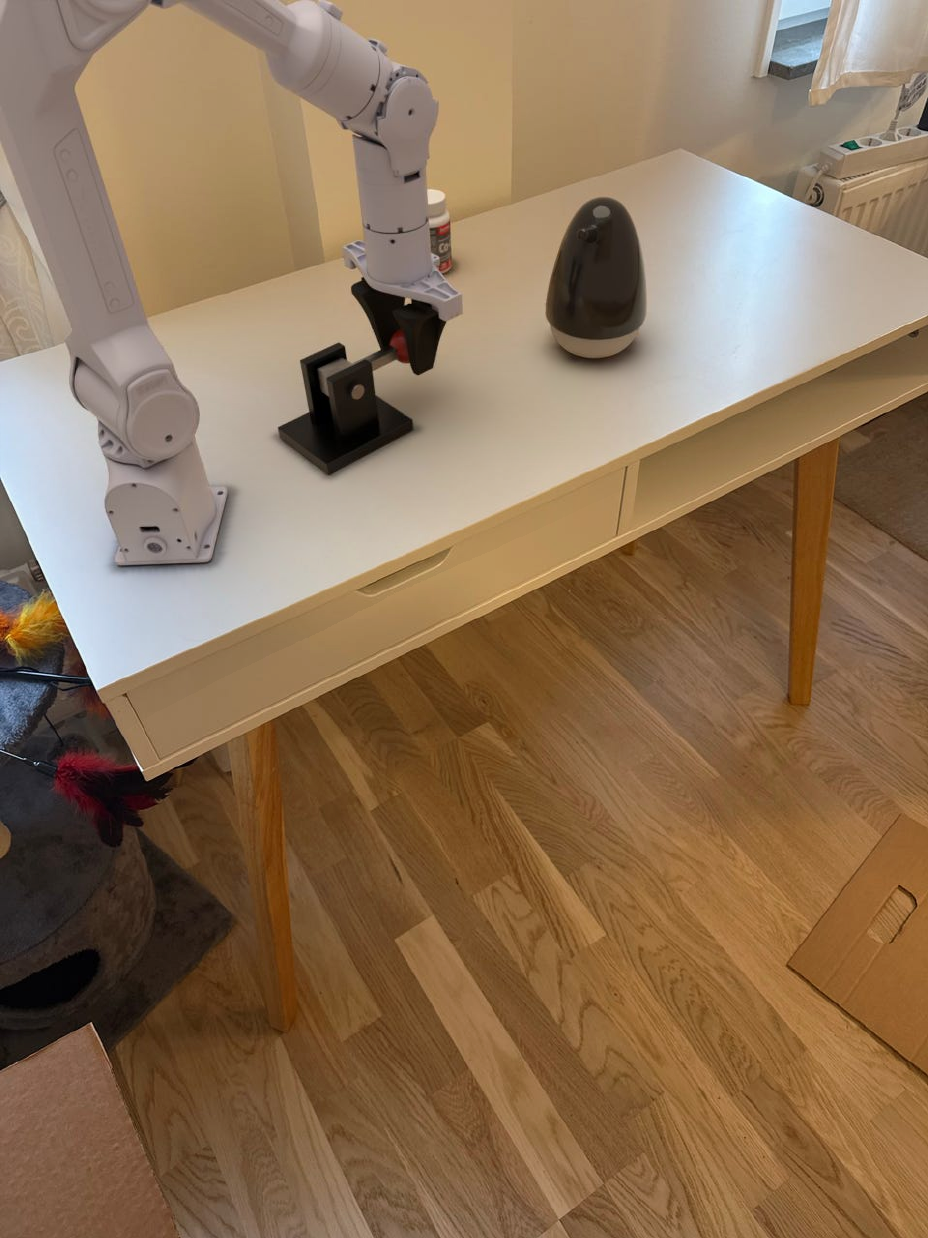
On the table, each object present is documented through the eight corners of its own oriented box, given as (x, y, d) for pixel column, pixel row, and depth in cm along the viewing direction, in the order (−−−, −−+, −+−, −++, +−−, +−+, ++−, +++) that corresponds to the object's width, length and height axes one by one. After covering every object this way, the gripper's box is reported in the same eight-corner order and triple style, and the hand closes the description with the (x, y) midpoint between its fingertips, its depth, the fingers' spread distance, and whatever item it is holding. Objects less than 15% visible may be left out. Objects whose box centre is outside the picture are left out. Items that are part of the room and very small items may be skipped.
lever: (410, 348, 91) (407, 318, 88) (431, 360, 89) (429, 330, 87) (318, 393, 86) (312, 362, 83) (338, 407, 84) (333, 376, 82)
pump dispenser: (527, 358, 97) (530, 212, 86) (567, 312, 103) (574, 170, 92) (620, 381, 93) (635, 231, 82) (655, 332, 99) (674, 187, 88)
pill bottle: (447, 278, 109) (444, 206, 103) (408, 275, 110) (402, 204, 104) (455, 259, 112) (452, 188, 106) (417, 256, 113) (412, 186, 107)
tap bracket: (362, 395, 93) (353, 324, 87) (413, 429, 89) (407, 357, 83) (279, 437, 89) (263, 365, 83) (328, 475, 84) (315, 402, 79)
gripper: (487, 230, 77) (490, 374, 87) (379, 180, 85) (393, 318, 95) (422, 258, 74) (432, 404, 84) (316, 204, 82) (337, 344, 92)
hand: (407, 360), depth 89 cm, fingers open, 4 cm apart
